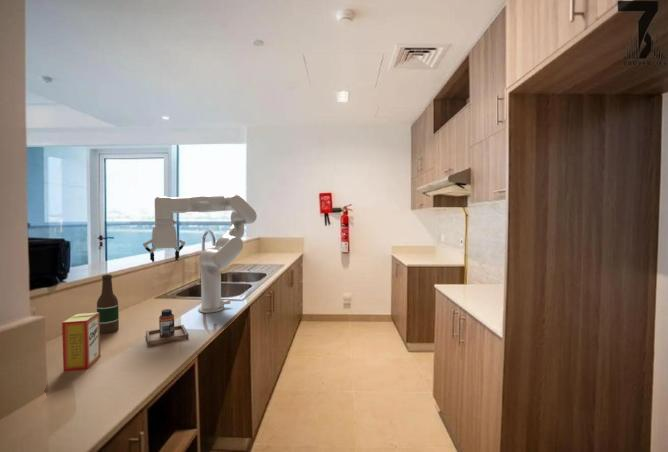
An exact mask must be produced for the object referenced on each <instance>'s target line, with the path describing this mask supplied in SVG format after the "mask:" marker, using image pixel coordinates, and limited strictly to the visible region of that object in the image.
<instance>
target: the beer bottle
mask: <svg viewBox="0 0 668 452" xmlns="http://www.w3.org/2000/svg"><path fill="white" fill-rule="evenodd" d="M112 278H113V276H112V274H103V275H102V276H101V280H102V286H101V294H100V296H99V297H98V299H97V301H96V312H99V316H100V335H107V334H112V333H115V332H116V331H118V330H119V329H120V328H119V326H120V325H119V324H120V323H119V321H120V320H119V319H120V318H119V315H120V314H119V300H118V297H117V296H116V295H115V293H114V291H113V282H112V281H113V280H112Z"/></svg>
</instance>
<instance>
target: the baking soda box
mask: <svg viewBox="0 0 668 452" xmlns="http://www.w3.org/2000/svg"><path fill="white" fill-rule="evenodd" d="M61 327H62V328H61V333H62V365H63V366H62V367H63V372H72V371H73V372H74V371H82V370H88V369H89V368H90V367H92V365H94V364H95V362H97V361H98V360H99V358H101V334H100V316H99V312H97V311H95V312H82V313H81V312H80V313H76V314H74V315H73V316H71V317H70V318H67V319H66V320H63V321H62V322H61Z"/></svg>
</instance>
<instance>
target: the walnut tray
mask: <svg viewBox="0 0 668 452" xmlns="http://www.w3.org/2000/svg"><path fill="white" fill-rule="evenodd" d="M187 330H188V329H186V327H185V326H184V324H180V325H179V324H178V325H174V335H172V336H170V337H160V328H156V329H150V330H146V331H145V339H146V343H147V348H149V347H155V346H160V345H165V344H170V343H174V342H180V341H184V340H189V333H188V331H187Z"/></svg>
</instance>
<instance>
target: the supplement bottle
mask: <svg viewBox="0 0 668 452" xmlns="http://www.w3.org/2000/svg"><path fill="white" fill-rule="evenodd" d="M172 312H173V311H172V309H170V308H167V309H162V310H161V314H160V316H159V318H158V321H159V322H158V323H159V327H158V329H160V337H170V336H172V335H174V326H175V314H173V313H172Z"/></svg>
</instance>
